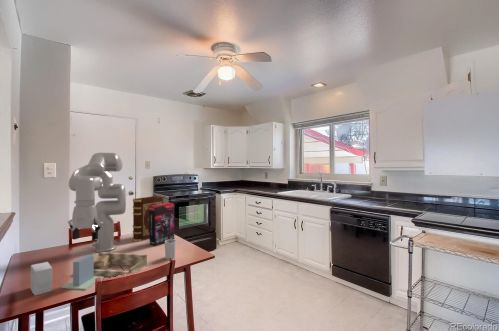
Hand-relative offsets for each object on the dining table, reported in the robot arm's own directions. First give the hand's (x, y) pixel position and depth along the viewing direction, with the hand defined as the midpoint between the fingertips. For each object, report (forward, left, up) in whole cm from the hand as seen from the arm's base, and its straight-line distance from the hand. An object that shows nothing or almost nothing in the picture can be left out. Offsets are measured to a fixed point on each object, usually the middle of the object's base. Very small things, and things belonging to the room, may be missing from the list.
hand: (85, 239), depth 121 cm
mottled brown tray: (+5, +15, -20) cm, 26 cm away
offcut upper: (-3, +15, -18) cm, 23 cm away
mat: (0, -1, -20) cm, 20 cm away
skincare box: (-14, -9, -21) cm, 27 cm away
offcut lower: (-3, +15, -21) cm, 26 cm away
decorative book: (-7, +71, -21) cm, 74 cm away
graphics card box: (+9, +61, -21) cm, 65 cm away
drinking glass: (+27, +35, -21) cm, 49 cm away
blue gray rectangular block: (0, -1, -20) cm, 20 cm away
